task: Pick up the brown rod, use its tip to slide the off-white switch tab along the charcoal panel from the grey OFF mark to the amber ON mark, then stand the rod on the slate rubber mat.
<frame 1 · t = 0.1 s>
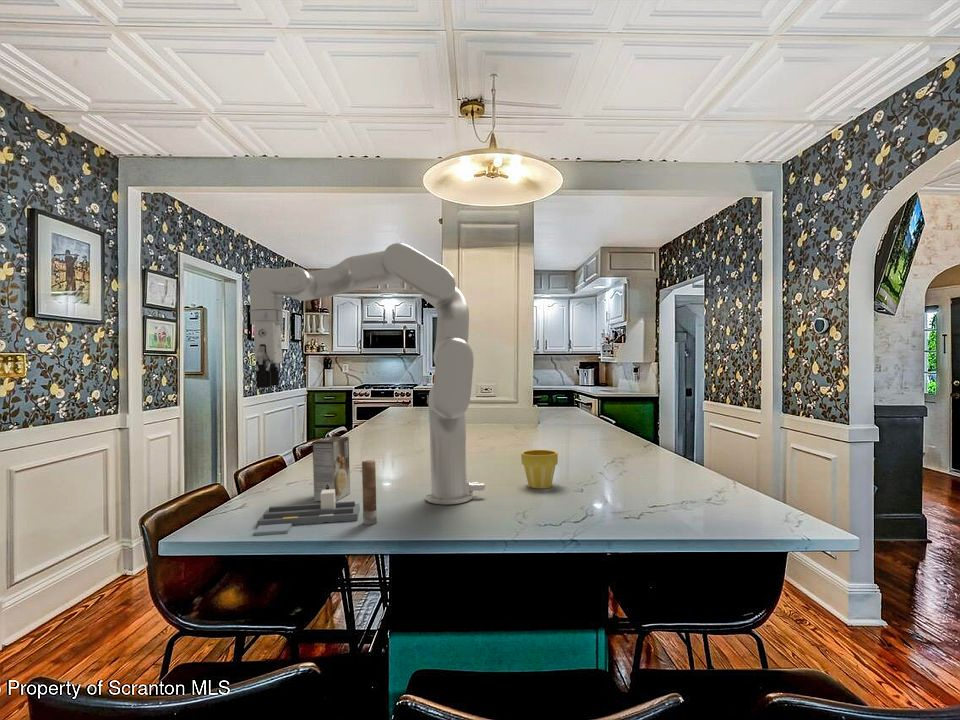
hand: (268, 386, 131), 31 cm above the countertop, tool pointing down, fingers open, 9 cm apart
switch tab: (328, 500, 125), point 4 cm above the countertop, slide at 0.0 cm
switch panel: (311, 518, 125), on the countertop
brown rod: (370, 522, 120), on the countertop
coffee box: (332, 498, 143), on the countertop
tool mat: (273, 530, 116), on the countertop
plant pot: (540, 486, 151), on the countertop
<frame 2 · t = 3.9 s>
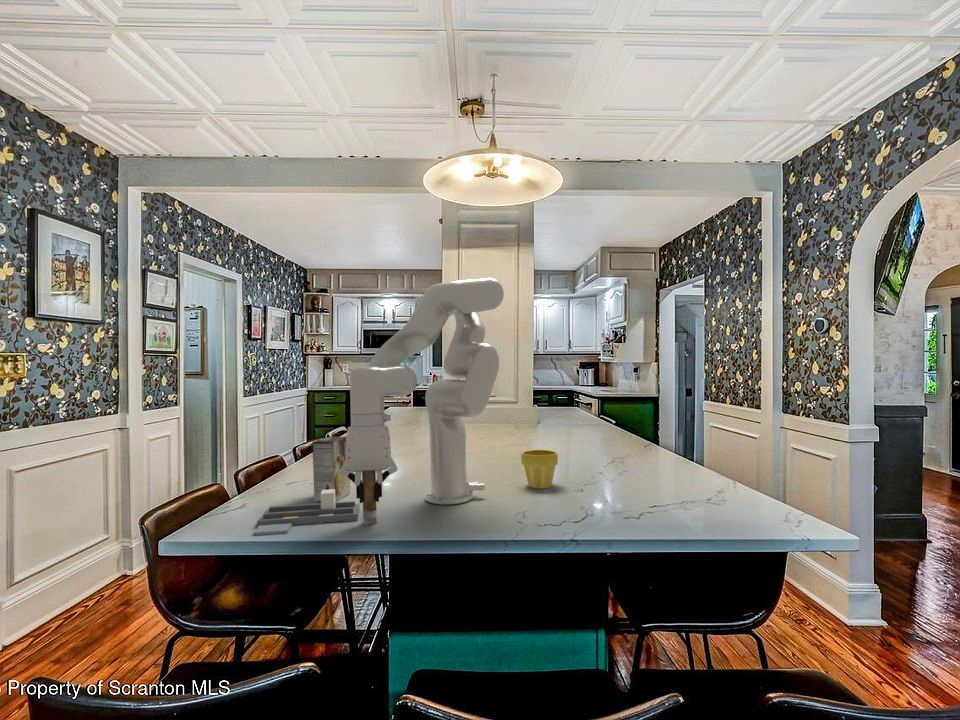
hand: (369, 500, 120), 5 cm above the countertop, tool pointing down, fingers closed on brown rod, 3 cm apart
brown rod: (370, 522, 120), on the countertop, touching gripper
everything else where it was.
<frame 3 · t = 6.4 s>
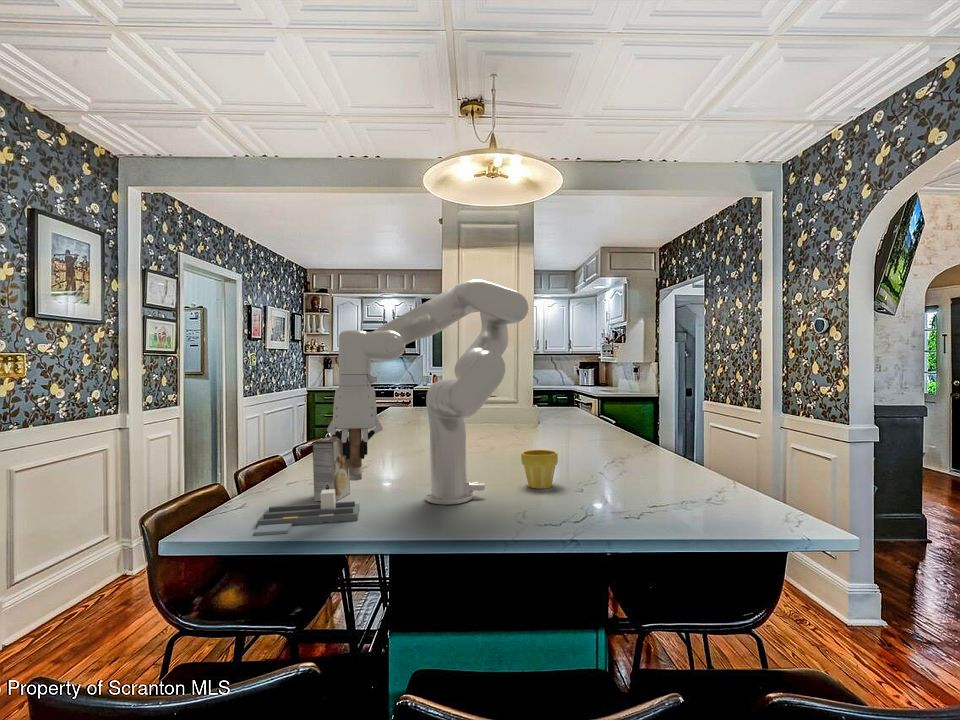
hand: (355, 457, 126), 14 cm above the countertop, tool pointing down, fingers closed on brown rod, 3 cm apart
brown rod: (355, 479, 126), point 9 cm above the countertop, touching gripper
everything else where it was.
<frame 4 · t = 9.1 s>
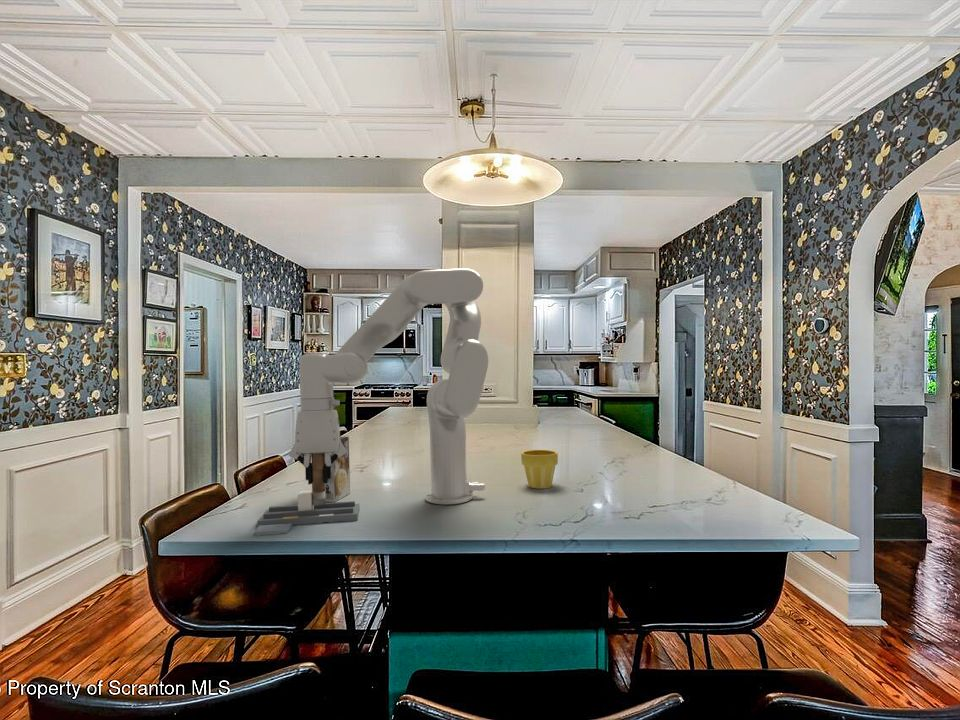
hand: (318, 481, 125), 9 cm above the countertop, tool pointing down, fingers closed on brown rod, 3 cm apart
switch tab: (305, 502, 124), point 4 cm above the countertop, slide at 5.1 cm, touching brown rod
brown rod: (319, 503, 125), point 3 cm above the countertop, touching gripper, switch tab
everything else where it was.
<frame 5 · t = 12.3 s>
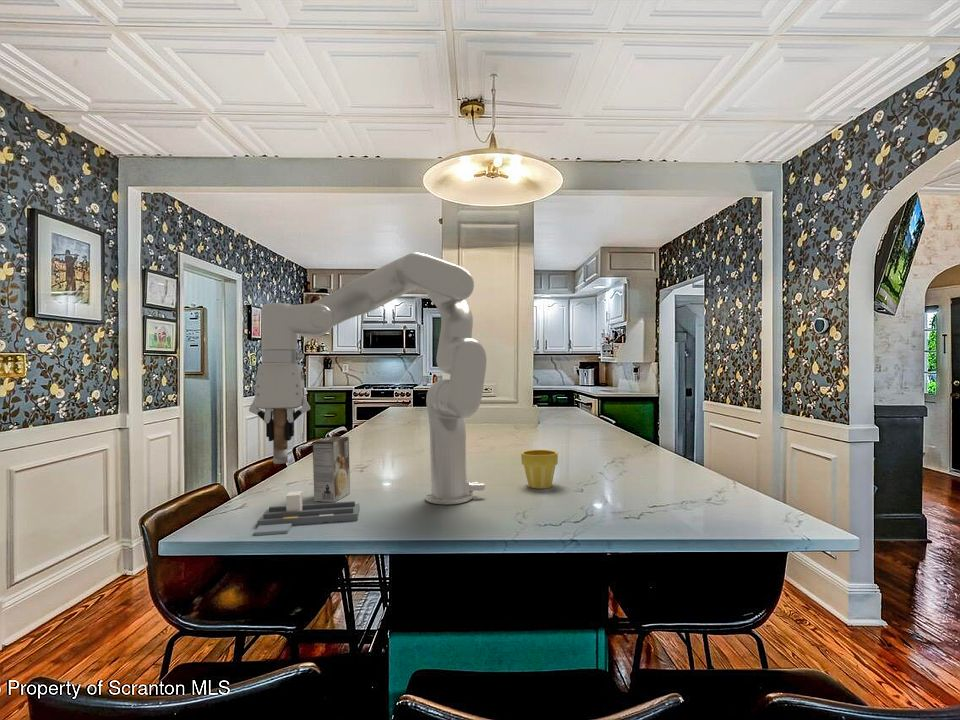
hand: (280, 439, 118), 20 cm above the countertop, tool pointing down, fingers closed on brown rod, 3 cm apart
switch tab: (294, 502, 124), point 4 cm above the countertop, slide at 7.7 cm
brown rod: (280, 462, 118), point 15 cm above the countertop, touching gripper
everything else where it was.
when the fingers open (7 cm above the countertop, at t = 15.1 s): brown rod stays where it is, resting on tool mat.
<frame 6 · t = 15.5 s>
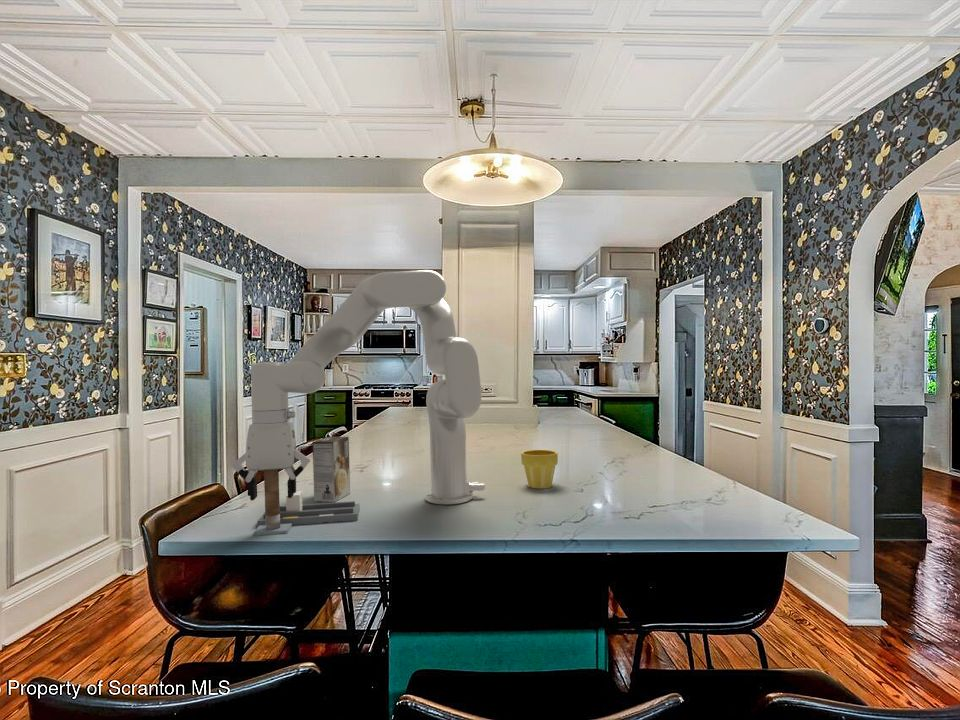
hand: (272, 497, 116), 7 cm above the countertop, tool pointing down, fingers open, 7 cm apart
brown rod: (273, 527, 116), point 1 cm above the countertop, touching tool mat
everything else where it was.
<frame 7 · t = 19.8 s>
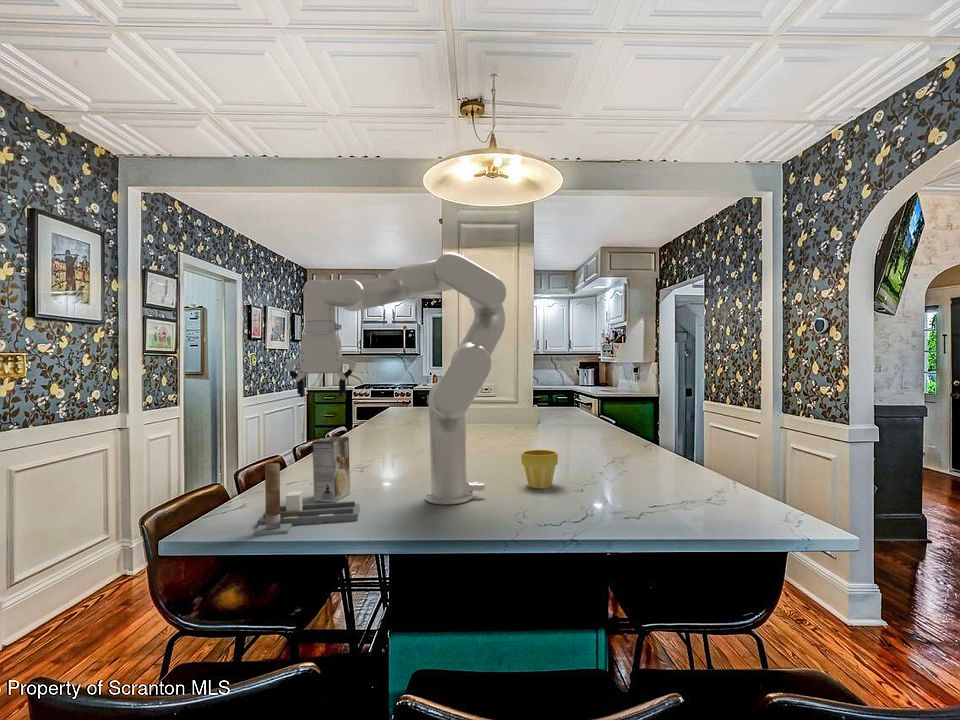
hand: (322, 396, 134), 28 cm above the countertop, tool pointing down, fingers open, 9 cm apart
nothing on the countertop moved.
at the end: switch tab slide at 7.7 cm; brown rod inside the target area on the tool mat (0.0 cm from its centre), point 0.6 cm above the tool mat's base; brown rod tilted 1° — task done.
